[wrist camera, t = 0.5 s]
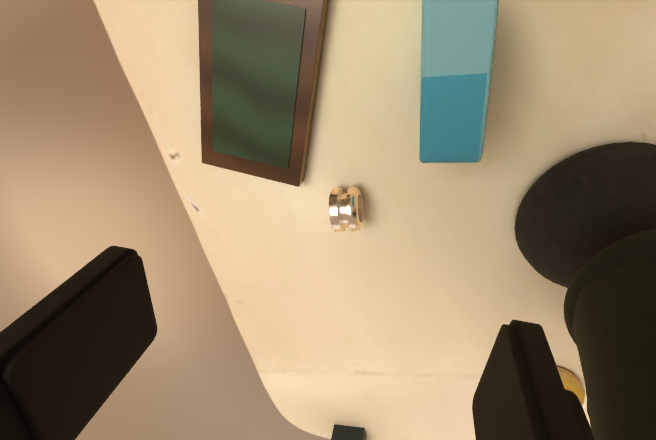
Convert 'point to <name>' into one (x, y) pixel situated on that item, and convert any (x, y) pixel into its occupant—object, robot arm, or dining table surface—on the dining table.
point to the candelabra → (603, 275)
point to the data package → (455, 78)
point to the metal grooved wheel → (346, 209)
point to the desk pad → (259, 84)
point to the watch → (348, 433)
